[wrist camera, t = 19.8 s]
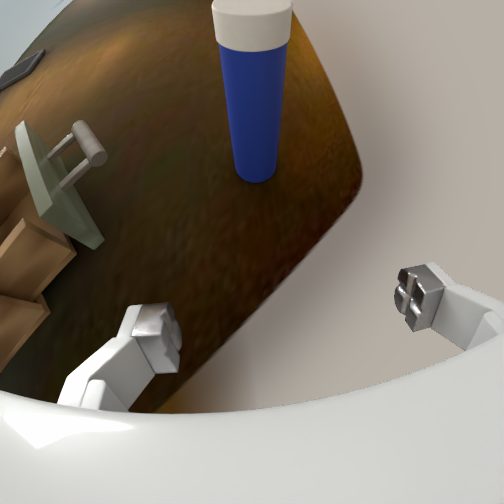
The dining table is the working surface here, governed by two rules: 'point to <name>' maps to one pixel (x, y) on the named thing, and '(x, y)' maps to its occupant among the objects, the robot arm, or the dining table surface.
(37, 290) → the drawer
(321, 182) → the dining table surface
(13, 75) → the cell phone
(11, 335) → the cabinet
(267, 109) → the disc
